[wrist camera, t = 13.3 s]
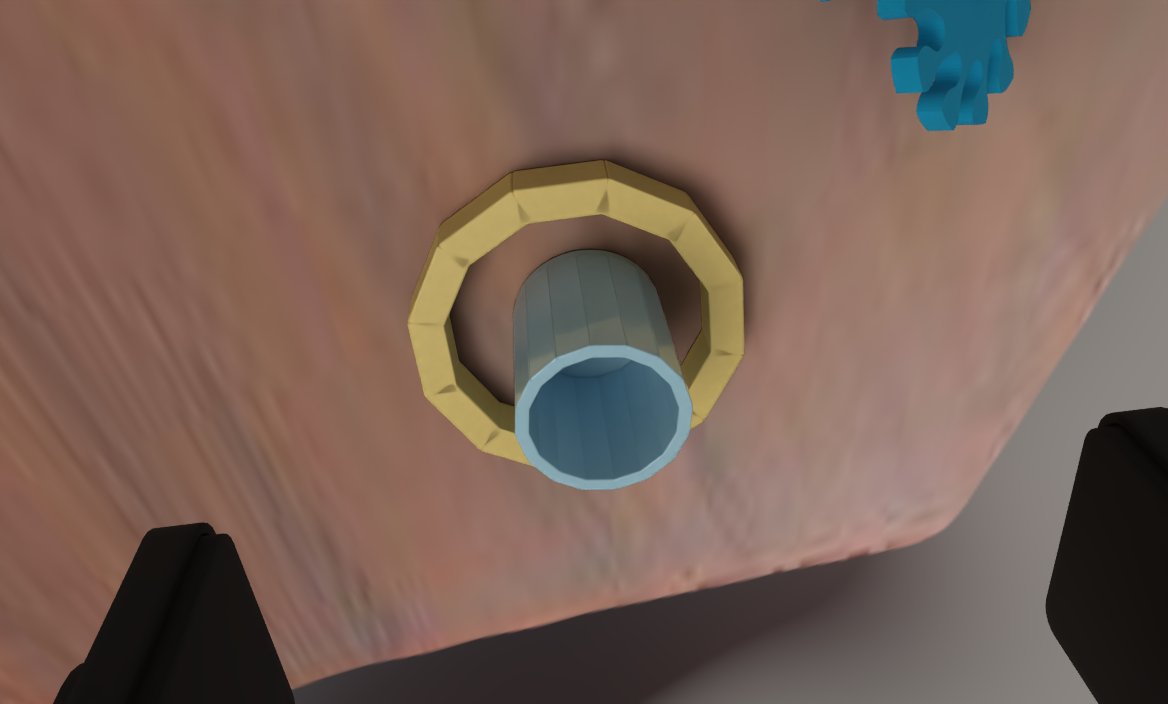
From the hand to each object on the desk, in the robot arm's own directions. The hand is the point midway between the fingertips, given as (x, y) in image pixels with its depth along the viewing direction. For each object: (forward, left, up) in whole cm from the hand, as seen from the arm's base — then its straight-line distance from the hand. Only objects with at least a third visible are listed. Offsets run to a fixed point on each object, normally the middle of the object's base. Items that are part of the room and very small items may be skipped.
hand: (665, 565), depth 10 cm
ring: (+6, -10, -26) cm, 29 cm away
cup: (+6, -10, -26) cm, 29 cm away
